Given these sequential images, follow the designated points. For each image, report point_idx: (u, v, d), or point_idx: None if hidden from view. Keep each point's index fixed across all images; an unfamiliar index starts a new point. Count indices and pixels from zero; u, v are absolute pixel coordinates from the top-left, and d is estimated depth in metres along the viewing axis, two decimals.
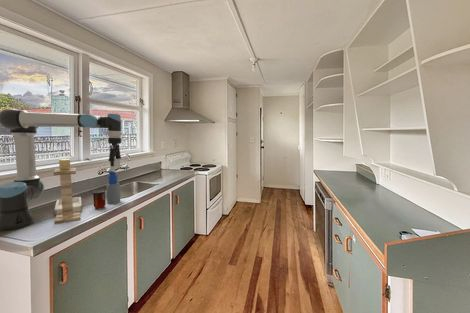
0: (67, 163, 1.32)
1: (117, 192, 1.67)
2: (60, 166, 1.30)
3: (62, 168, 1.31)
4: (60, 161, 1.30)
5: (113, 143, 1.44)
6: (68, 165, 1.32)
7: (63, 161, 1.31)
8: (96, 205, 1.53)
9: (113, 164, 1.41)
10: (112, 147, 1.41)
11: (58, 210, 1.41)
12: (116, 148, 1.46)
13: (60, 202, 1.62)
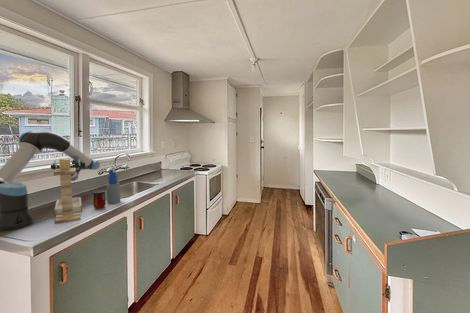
0: (67, 163, 1.32)
1: (117, 192, 1.67)
2: (60, 166, 1.30)
3: (62, 168, 1.31)
4: (60, 161, 1.30)
5: (76, 169, 1.73)
6: (68, 165, 1.32)
7: (63, 161, 1.31)
8: (96, 205, 1.53)
9: (81, 163, 1.65)
10: None
11: (58, 210, 1.41)
12: None
13: (60, 202, 1.62)
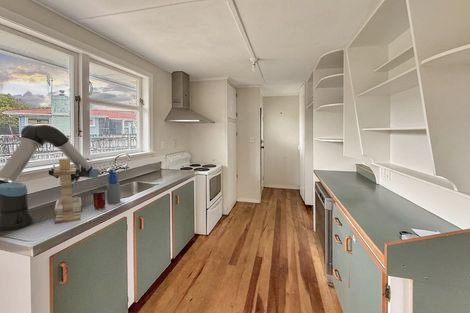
0: (67, 163, 1.32)
1: (117, 192, 1.67)
2: (60, 166, 1.30)
3: (62, 168, 1.31)
4: (60, 161, 1.30)
5: (75, 175, 1.61)
6: (68, 165, 1.32)
7: (63, 161, 1.31)
8: (96, 205, 1.53)
9: (82, 169, 1.54)
10: None
11: (58, 210, 1.41)
12: (72, 176, 1.58)
13: (60, 202, 1.62)
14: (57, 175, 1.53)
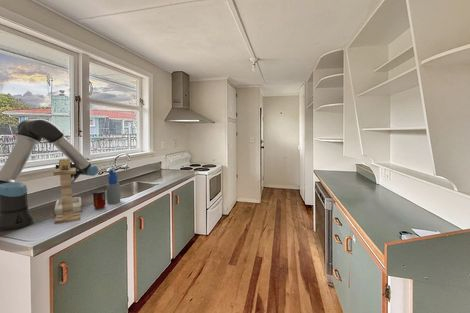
0: (67, 163, 1.32)
1: (117, 192, 1.67)
2: (60, 166, 1.30)
3: (62, 168, 1.31)
4: (60, 161, 1.30)
5: None
6: (68, 165, 1.32)
7: (63, 161, 1.31)
8: (96, 205, 1.53)
9: (71, 164, 1.44)
10: (77, 170, 1.54)
11: (58, 210, 1.41)
12: None
13: (60, 202, 1.62)
14: None
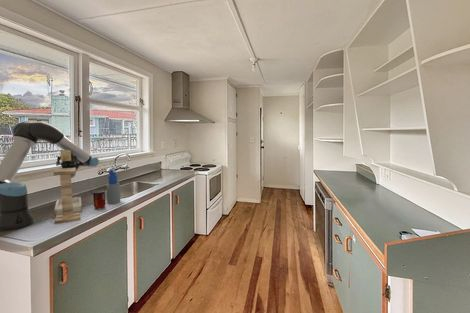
0: (68, 154, 1.40)
1: (117, 192, 1.67)
2: (61, 157, 1.39)
3: (63, 159, 1.39)
4: (61, 152, 1.39)
5: (76, 164, 1.64)
6: (69, 156, 1.41)
7: (64, 152, 1.39)
8: (96, 205, 1.53)
9: (72, 156, 1.52)
10: (78, 162, 1.62)
11: (58, 210, 1.41)
12: (71, 164, 1.60)
13: (60, 202, 1.62)
14: None
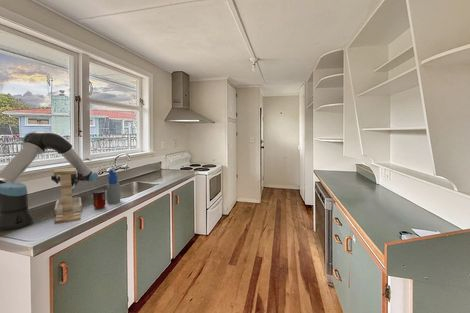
0: None
1: (117, 192, 1.67)
2: None
3: None
4: None
5: (74, 181, 1.68)
6: None
7: None
8: (96, 205, 1.53)
9: (78, 174, 1.59)
10: (79, 179, 1.67)
11: (58, 210, 1.41)
12: (72, 181, 1.64)
13: (60, 202, 1.62)
14: (58, 180, 1.59)
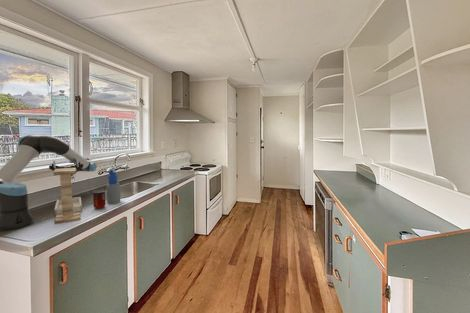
0: None
1: (117, 192, 1.67)
2: None
3: None
4: None
5: None
6: None
7: None
8: (96, 205, 1.53)
9: (79, 164, 1.68)
10: None
11: (58, 210, 1.41)
12: None
13: (60, 202, 1.62)
14: None
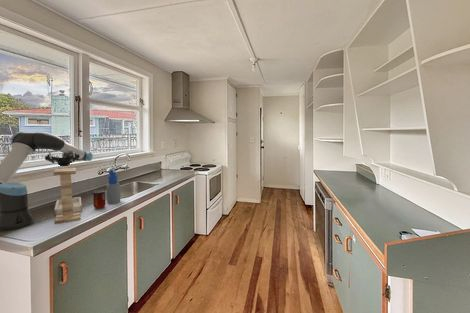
0: None
1: (117, 192, 1.67)
2: None
3: None
4: None
5: (69, 161, 1.76)
6: None
7: None
8: (96, 205, 1.53)
9: (75, 155, 1.68)
10: None
11: (58, 210, 1.41)
12: (67, 161, 1.72)
13: (60, 202, 1.62)
14: (53, 160, 1.67)
